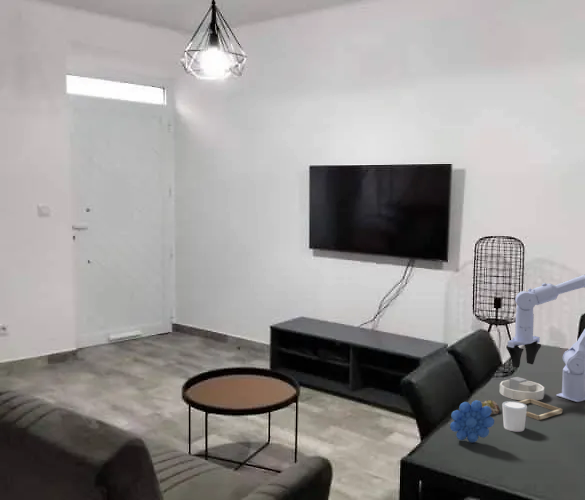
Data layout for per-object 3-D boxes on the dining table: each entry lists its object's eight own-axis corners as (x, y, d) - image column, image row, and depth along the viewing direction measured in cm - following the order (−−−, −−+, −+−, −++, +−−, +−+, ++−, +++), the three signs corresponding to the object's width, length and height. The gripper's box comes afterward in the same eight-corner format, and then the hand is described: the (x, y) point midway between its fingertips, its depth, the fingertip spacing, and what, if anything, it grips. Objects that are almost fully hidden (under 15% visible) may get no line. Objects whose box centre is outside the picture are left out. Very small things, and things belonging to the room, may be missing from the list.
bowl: (517, 385, 213) (517, 377, 213) (552, 396, 201) (552, 387, 201) (491, 392, 206) (491, 383, 206) (526, 403, 194) (526, 394, 194)
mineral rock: (478, 397, 194) (501, 396, 189) (481, 410, 194) (505, 409, 188) (464, 407, 185) (489, 406, 180) (468, 421, 185) (492, 420, 180)
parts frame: (529, 401, 196) (529, 398, 196) (562, 412, 185) (563, 409, 185) (505, 408, 189) (505, 404, 189) (538, 420, 179) (538, 416, 179)
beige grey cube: (525, 392, 203) (526, 381, 203) (536, 395, 200) (536, 384, 200) (518, 394, 201) (518, 383, 201) (528, 397, 198) (528, 386, 197)
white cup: (526, 425, 175) (526, 402, 175) (527, 433, 169) (527, 409, 168) (501, 422, 177) (502, 399, 177) (501, 430, 171) (502, 407, 170)
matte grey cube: (516, 387, 209) (516, 376, 208) (526, 390, 205) (526, 379, 205) (509, 389, 207) (509, 378, 206) (519, 392, 203) (519, 381, 203)
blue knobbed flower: (494, 439, 165) (495, 397, 164) (493, 448, 158) (494, 405, 158) (451, 433, 169) (452, 392, 168) (448, 442, 162) (449, 400, 162)
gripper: (527, 322, 210) (526, 359, 211) (500, 326, 202) (499, 365, 203) (545, 325, 204) (544, 364, 205) (518, 330, 196) (517, 370, 197)
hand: (523, 365), depth 204 cm, fingers open, 7 cm apart
